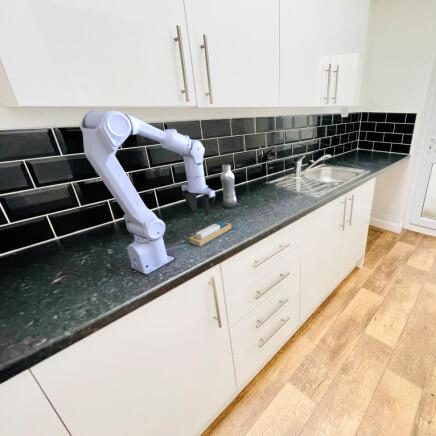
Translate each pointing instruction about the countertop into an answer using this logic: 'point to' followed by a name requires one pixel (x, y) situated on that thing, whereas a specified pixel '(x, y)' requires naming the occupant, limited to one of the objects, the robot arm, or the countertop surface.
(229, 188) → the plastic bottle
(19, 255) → the countertop surface
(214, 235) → the pen tray
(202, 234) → the marker
